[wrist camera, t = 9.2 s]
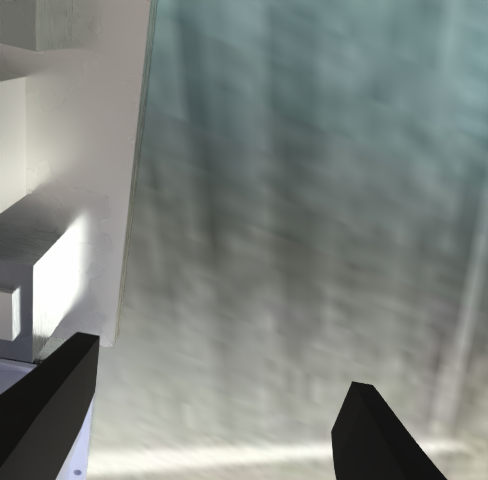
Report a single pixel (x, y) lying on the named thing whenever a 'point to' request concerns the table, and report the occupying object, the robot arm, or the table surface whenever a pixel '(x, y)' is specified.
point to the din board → (72, 166)
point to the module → (12, 140)
